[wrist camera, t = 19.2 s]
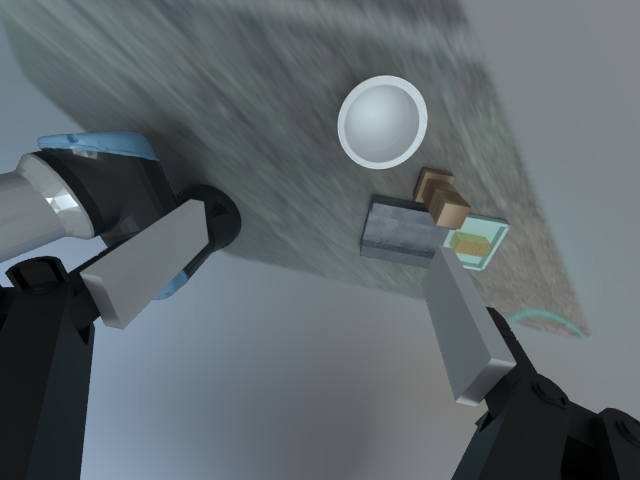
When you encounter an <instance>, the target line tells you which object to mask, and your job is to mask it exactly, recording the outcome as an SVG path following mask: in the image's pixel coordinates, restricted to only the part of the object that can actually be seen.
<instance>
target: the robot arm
mask: <svg viewBox="0 0 640 480" xmlns="http://www.w3.org/2000/svg"><path fill="white" fill-rule="evenodd" d="M37 141H38V147H39V148H40V149H41V150H42V151H38V152H33V153H27V154H24V155H23V156H22V157H21V159H20V161H19V164H18V166H17V168H16V170H15V171H13V172H9V173H4V174H0V263H2V262H4V261H7V260H9V259H11V258H14V257H16V256H19V255H21V254H24V253H26V252H29V251H31V250H33V249H36V248H38V247H41V246H43V245H46V244H48V243H50V242H53V241H55V240H58V239H60V238H63V237H65V236H66V237H75V238H81V239H86V240H88V239H92V238H94V237H96V236H99V235H100V237H101V238H102V240H103V241H104V243H105V244H106V246H107V247H108V248H106V249H105V250H104V251H102V252H101V253H99V254H98V256H94V257H93V258H91V259H90V260H88V261H87V262H85V263H83V264H82V265H80V266H79V267H77V268H76V269H74V270H73V271H71V272H69V273H67V272H66V270H65V268H64V266H63V264H62V262H61V260H60V259H59V258H57V257H53V256H42V257H35V258H31V259H27V260H25V261H22V262H19V263H17V264H15V265H14V266H12V267H10V268H9V269H8V270H7V271H6V272H5V274H6V275H7V277H8V278H9V280H10V281H11V283H12V284H13V286H14V287H2V286H1V285H0V480H80V474H81V464H82V454H83V443H84V433H85V424H86V414H87V403H88V394H89V383H90V374H91V364H92V354H93V344H94V334H95V327H94V324H93V321H95V320H96V319H97V318H98V317H99V316H101V318H102V320H103V322H104V324H105V326H109V327H114V328H118V329H124V328H125V327H126V326H127V325H128V324H129V323H130V322H131V321H132V320H133V319H134V318H135V317H136V316H137V315H138V314H139V313H140V312H141V311H142V310H143V309H144V308H145V307H146V306H147V305H148V304H149V303H150V302H151V301H152V300H161V299H165V298H168V297H170V296H172V295H173V294H174V293H175V292H176V291H177V290H178V289H179V288H181V287H182V286H183V285H185V284H186V283H187V281H188V279H189V278H190V277H191V276H192V275H193V274H194V273H195V271H196V270H197V269H198V268H199V267H200V266H201V264H202V263H203V262H204V261H205V260H206V259H207V258H208V256H209V255H210V254H211V253H213V252H215V251H217V250H219V249H221V248H224V247H226V246H228V245H229V244H230V243H232V242H233V241H234V239H235V238H236V237H237V236H238V234H239V232H240V229H241V218H240V214H239V211H238V209H237V207H236V206H235V204H234V203H233V202H232V200H231V199H230V198H229V197H228V196H227V195H226V194H224V193H223V192H221V191H220V190H218V189H216V188H214V187H211V186H208V185H193V186H190V187H188V188H186V189H184V190H183V191H181V192H180V193H179V194H178V195H177V196H176V197H175V196H174V194H173V192H172V189H171V187H170V185H169V183H168V181H167V178H166V176H165V174H164V172H163V170H162V167H161V165H160V163H159V162H160V160H159V159H158V158H157V157H156V155H155V153H154V151H153V149H152V147H151V146H150V144H149V142H148V140H147V139H146V138H145V137H144V136H143V135H141V134H140V133H137V132H133V131H109V132H90V133H78V134H66V135H52V136H43V137H40V138H38V139H37ZM421 286H422V289H423V292H424V296H425V299H426V303H427V306H428V309H429V313H430V316H431V320H432V323H433V327H434V330H435V334H436V337H437V340H438V344H439V347H440V351H441V354H442V358H443V361H444V364H445V368H446V371H447V375H448V378H449V381H450V385H451V388H452V392H453V395H454V398H455V402H458V403H462V404H467V405H471V406H477V405H478V404H479V403H480V402H481V401H482V400H483V399H484V398H485V401H486V403H487V406H488V409H489V410H488V411H487V412H486V413H485V414H484V415H483V416H482V417H481V418H480V419H479V420H478V421H477V422H476V423H475V424H476V425H477V426H478V427H477V429H476V432H475V433H474V435H473V437H472V439H471V441H470V443H469V445H468V447H467V449H466V451H465V453H464V455H463V457H462V459H461V461H460V463H459V465H458V467H457V469H456V471H455V473H454V475H453V477H452V479H451V480H640V422H639V421H638V420H636V419H634V418H633V417H631V416H630V415H628V414H627V413H625V412H622V411H620V410H617V409H615V408H606V409H604V410H603V411H601V412H600V413H598V414H596V413H594V412H592V411H590V410H588V409H586V408H583V407H581V406H579V405H577V404H575V403H573V402H571V401H569V399H568V397H567V395H566V394H565V393H564V392H563V391H562V390H561V389H560V388H559V386H557V385H556V384H555V383H553V382H552V381H551V380H550V379H548V378H546V377H544V376H542V375H541V374H538V373H537V372H536V370H535V368H534V367H533V365H532V363H531V362H530V360H529V358H528V357H527V355H526V353H525V352H524V350H523V349H522V347H521V345H520V343H519V342H518V340H516V337H515V335H514V334H513V332H512V331H511V329H510V327H509V325H508V324H507V322H506V320H505V319H504V318H503V317H502V316H501V315H500V314H499V313H498V312H497V311H496V310H495V309H494V308H490V307H485V305H484V303H483V301H482V300H481V298H480V296H479V294H478V292H477V291H476V289H475V287H474V285H473V283H472V282H471V280H470V278H469V276H468V274H467V272H466V271H465V269H464V267H463V265H462V263H461V262H460V260H459V258H458V256H457V254H456V253H455V251H454V249H453V248H449V247H444V246H438V248H437V250H436V253H435V255H434V257H433V259H432V261H431V263H430V266H429V268H428V270H427V272H426V274H425V277H424V279H423V281H422V283H421Z"/></svg>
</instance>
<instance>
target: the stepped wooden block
mask: <svg viewBox="0 0 640 480" xmlns="http://www.w3.org/2000/svg"><path fill="white" fill-rule="evenodd" d="M454 179H455V176H454V175H453V174H452V173H451V172H447V171H441V170H436V169H430V168H424V167H422V170H421V173H420V176H419V179H418V182H417V185H416V187H415V190H414V193H413V197H414V199H415V201H417V202H422V203H425V205H426V207H427V209H428V211H429V213H430V214H431V216H432V218H433V220H434V222H435V224H436V225H438V226H444V227H449V228H455V229H461V227H462V225H463V223H464V221H465V219H466V217H467V215H468V213H469V211H470V209H471V207H470V206H469V205H468V203H467V202H466V201H465V200H464V199H463V198H462V197H461V196H460V194H459V193H458V192H457V191H456V190H455V189H454V188H453V186H452V183H453V181H454Z"/></svg>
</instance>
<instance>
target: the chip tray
mask: <svg viewBox="0 0 640 480" xmlns="http://www.w3.org/2000/svg"><path fill="white" fill-rule="evenodd" d="M510 226H511V225H510V224H509V223H508V222H507V221H506V220H502V219H496V218H491V217H485V216H480V215H474V214H468V215H467V217H466V219H465V221H464V223H463V225H462V227H461V229H457V230H456V231H455V230H450V231H449V234H448V236H447V238H446V240H445V242H444V244H443V246H444V247H449V248H451V246H450V242H451V240H452V238H453V236H454V234H455V232H460V233H465V234H470V235H475V236H481V237H486V239H487V240H488V241H489V242H490V244H491V245H492V246H491V248H490V249H489V251H488V253H487V254H486V256H485V258H483V257H477V256H472V255H467V254H462V253H456V252H455V253H456V254H457V256H458V258H459V260H460V262H461V263H462V265H463V267H464V268H468V269H473V270H479V271H483V270H484V268H485V267H486V265H487V264H488V262H489V260H490V259H491V257H492V255H493V254H494V252H495V250H496V249H497V247H498V246H499V244H500V242H501V241H502V239H503V237H504V236H505V234H506V232H507V231H508V229H509V228H510Z"/></svg>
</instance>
